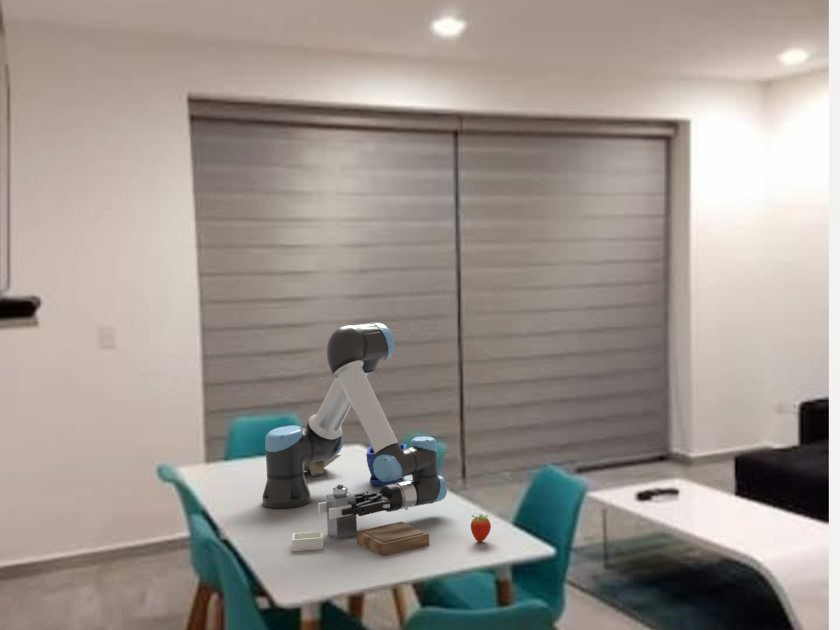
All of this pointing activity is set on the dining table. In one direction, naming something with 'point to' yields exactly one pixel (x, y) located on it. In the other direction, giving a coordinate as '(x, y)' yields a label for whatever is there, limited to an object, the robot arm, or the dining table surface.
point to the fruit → (480, 527)
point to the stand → (392, 538)
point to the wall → (319, 466)
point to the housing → (341, 525)
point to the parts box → (307, 541)
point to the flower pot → (370, 461)
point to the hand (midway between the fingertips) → (324, 511)
